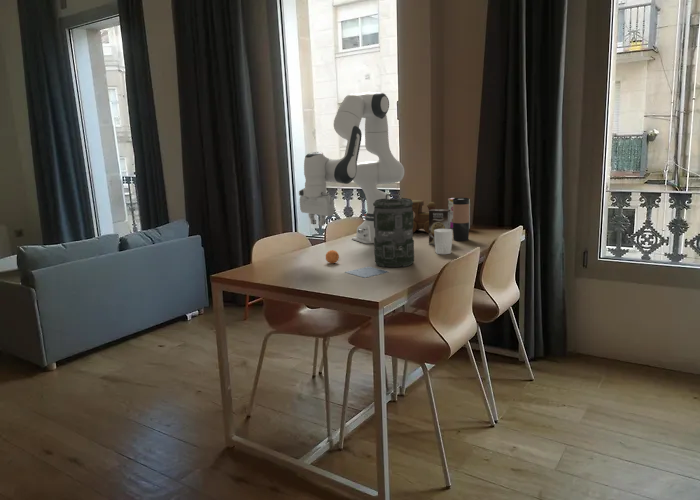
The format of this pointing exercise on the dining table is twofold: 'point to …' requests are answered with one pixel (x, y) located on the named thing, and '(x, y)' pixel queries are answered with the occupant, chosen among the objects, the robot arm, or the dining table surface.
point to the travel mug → (460, 219)
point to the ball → (332, 256)
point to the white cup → (443, 241)
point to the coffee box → (438, 222)
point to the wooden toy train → (421, 215)
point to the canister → (393, 232)
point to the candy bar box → (450, 207)
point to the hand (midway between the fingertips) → (317, 224)
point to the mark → (366, 272)
